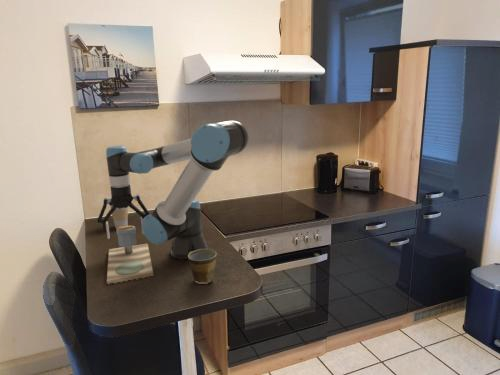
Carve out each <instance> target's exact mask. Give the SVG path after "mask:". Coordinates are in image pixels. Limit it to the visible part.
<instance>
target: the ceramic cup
mask: <svg viewBox="0 0 500 375" xmlns="http://www.w3.org/2000/svg"><path fill="white" fill-rule="evenodd" d="M187 261H188V263H189V267H190V270H191V273H192V278H193V280H195V281H198V282H208V281H210V280H212V279H213V280H214V274H215V268H216V262H217V252H216V251H215V250H214V249H210V248H207V249H199V250H195V251H189V252H188V260H187ZM195 281H194V282H195Z"/></svg>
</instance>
